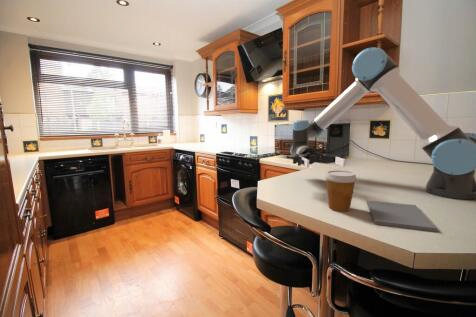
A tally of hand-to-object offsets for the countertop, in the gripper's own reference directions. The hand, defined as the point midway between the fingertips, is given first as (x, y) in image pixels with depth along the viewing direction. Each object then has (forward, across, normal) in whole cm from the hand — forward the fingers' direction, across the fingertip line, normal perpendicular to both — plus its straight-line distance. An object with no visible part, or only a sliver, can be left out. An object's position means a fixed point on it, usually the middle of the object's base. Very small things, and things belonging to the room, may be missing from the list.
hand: (326, 163), depth 86 cm
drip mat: (+18, -15, -13) cm, 27 cm away
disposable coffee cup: (+10, -1, -13) cm, 17 cm away
